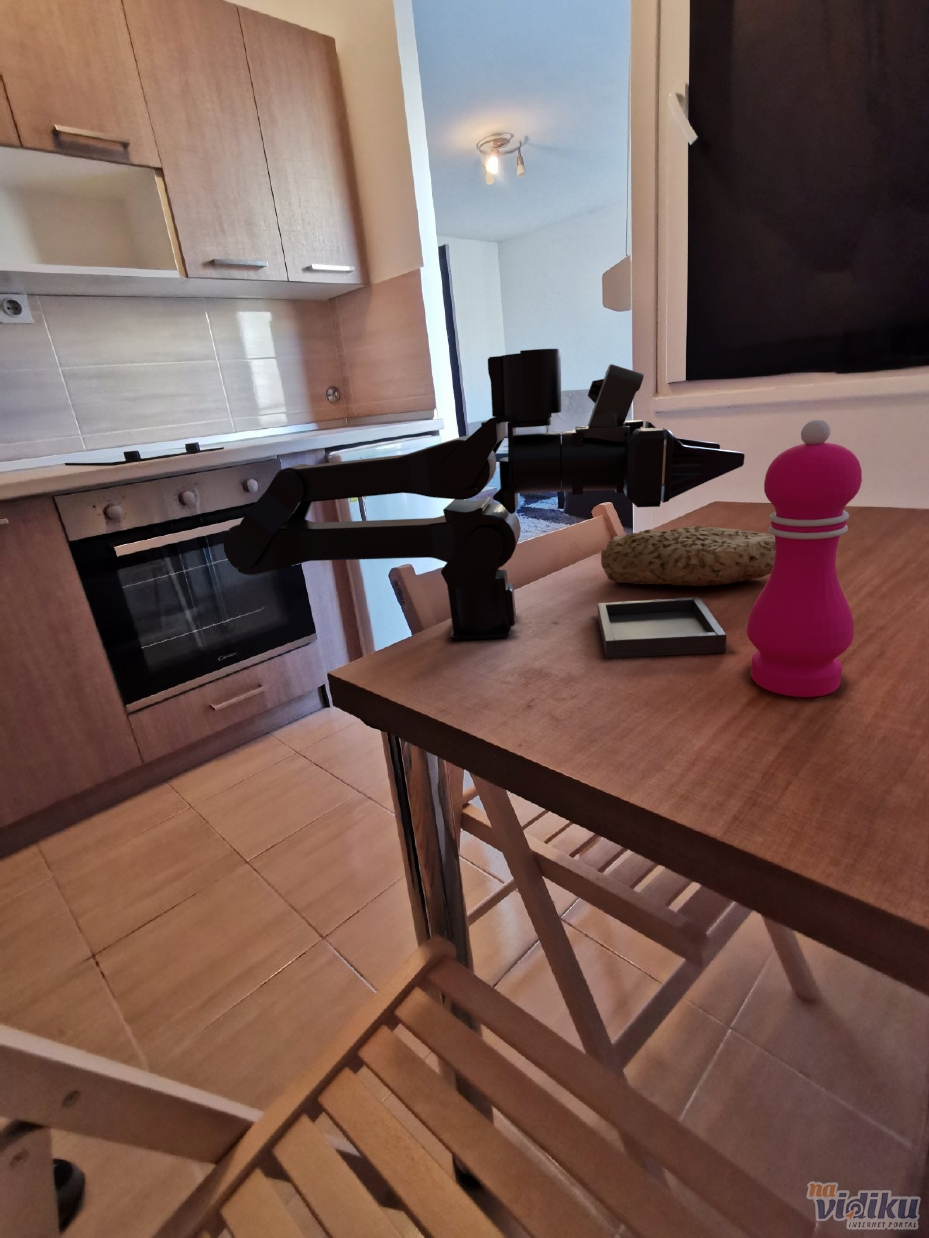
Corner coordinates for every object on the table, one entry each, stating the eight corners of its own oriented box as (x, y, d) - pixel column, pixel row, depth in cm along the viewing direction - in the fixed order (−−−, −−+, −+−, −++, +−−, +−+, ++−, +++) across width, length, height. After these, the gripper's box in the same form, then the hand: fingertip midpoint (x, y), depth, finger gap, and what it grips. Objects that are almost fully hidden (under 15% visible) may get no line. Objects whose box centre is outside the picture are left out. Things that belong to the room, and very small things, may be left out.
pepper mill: (848, 667, 48) (879, 410, 41) (845, 708, 43) (881, 419, 36) (751, 656, 52) (765, 419, 45) (737, 692, 46) (750, 429, 40)
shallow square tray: (606, 658, 55) (605, 640, 54) (598, 618, 65) (597, 603, 64) (726, 652, 53) (726, 634, 53) (699, 612, 63) (699, 596, 62)
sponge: (598, 600, 74) (771, 584, 60) (590, 538, 73) (762, 507, 60) (645, 588, 83) (803, 571, 70) (638, 533, 83) (795, 505, 69)
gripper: (559, 370, 46) (771, 354, 44) (563, 375, 64) (716, 364, 61) (560, 511, 50) (755, 504, 48) (563, 480, 68) (707, 474, 65)
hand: (730, 454), depth 55 cm, fingers open, 9 cm apart
